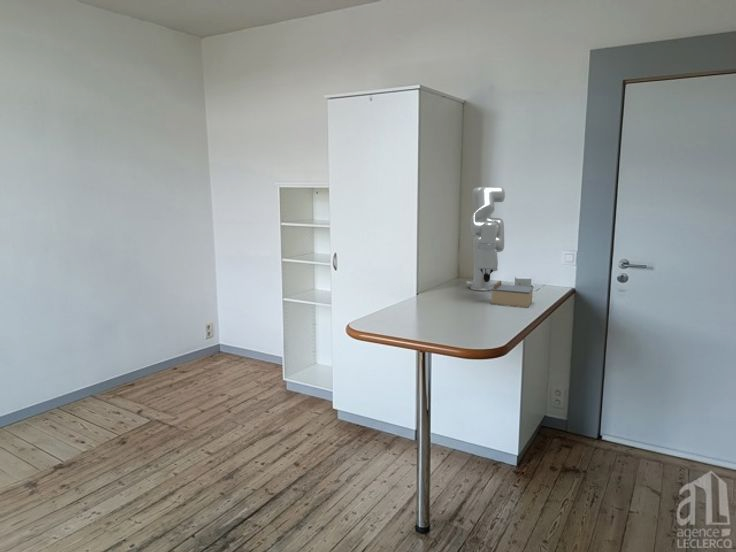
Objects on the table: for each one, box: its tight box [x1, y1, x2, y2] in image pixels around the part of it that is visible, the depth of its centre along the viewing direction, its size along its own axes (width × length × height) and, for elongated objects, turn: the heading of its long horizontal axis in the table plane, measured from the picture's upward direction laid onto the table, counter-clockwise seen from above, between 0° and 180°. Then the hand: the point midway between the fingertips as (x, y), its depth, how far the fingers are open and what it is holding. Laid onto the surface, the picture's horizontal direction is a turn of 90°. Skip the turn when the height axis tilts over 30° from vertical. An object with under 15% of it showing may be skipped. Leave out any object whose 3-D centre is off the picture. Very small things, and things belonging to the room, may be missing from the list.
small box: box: [514, 276, 532, 287], centre depth 277 cm, size 8×6×10 cm
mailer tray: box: [491, 288, 534, 308], centre depth 261 cm, size 18×14×7 cm
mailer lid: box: [490, 280, 534, 293], centre depth 260 cm, size 19×15×3 cm
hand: (486, 281), depth 265 cm, fingers closed
